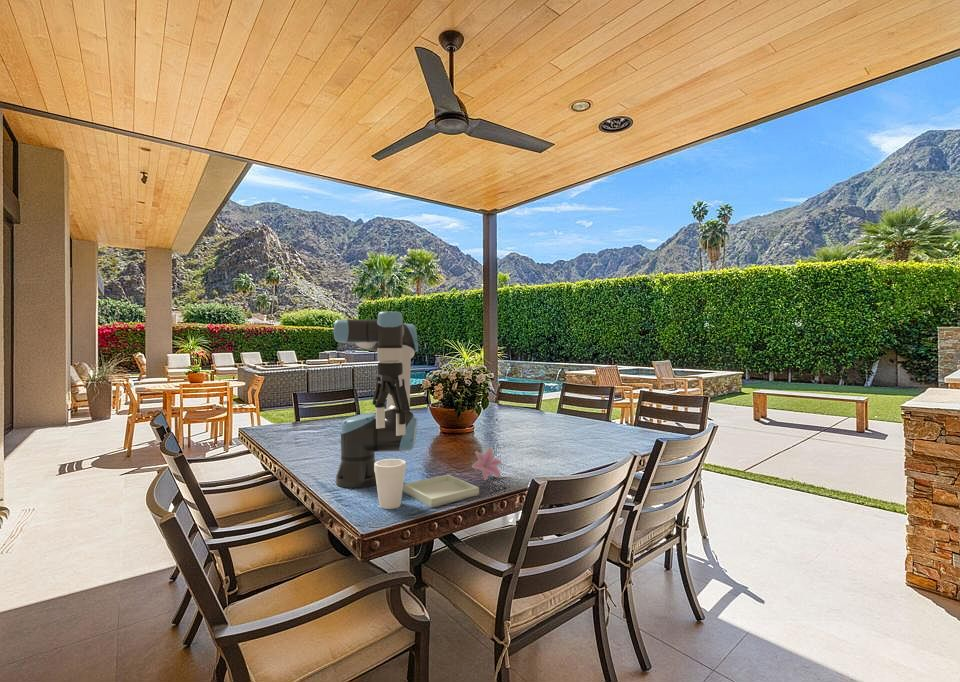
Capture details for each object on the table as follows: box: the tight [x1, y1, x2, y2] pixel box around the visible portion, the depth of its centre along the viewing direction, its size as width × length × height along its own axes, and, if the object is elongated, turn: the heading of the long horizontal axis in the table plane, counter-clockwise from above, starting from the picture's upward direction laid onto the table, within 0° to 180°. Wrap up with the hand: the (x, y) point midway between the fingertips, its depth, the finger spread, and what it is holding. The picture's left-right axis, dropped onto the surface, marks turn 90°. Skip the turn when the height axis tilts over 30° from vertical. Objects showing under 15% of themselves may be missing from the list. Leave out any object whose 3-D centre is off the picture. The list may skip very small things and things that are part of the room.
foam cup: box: [374, 458, 407, 510], centre depth 141 cm, size 10×9×13 cm
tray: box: [402, 474, 480, 508], centre depth 151 cm, size 18×18×2 cm
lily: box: [471, 446, 502, 481], centre depth 170 cm, size 12×12×10 cm
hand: (390, 431), depth 141 cm, fingers open, 13 cm apart
